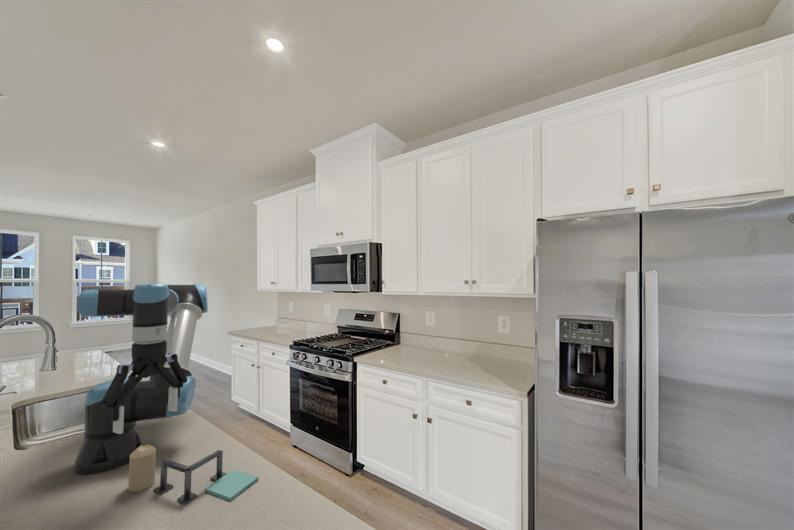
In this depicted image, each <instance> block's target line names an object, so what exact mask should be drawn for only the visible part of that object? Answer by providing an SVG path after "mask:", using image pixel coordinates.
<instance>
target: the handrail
mask: <svg viewBox="0 0 794 530" xmlns="http://www.w3.org/2000/svg"><path fill="white" fill-rule="evenodd" d="M223 454H224V451H223V450H221V449H217V450H216V451H214V452H212V453H210V454H209V455H207V456H205V457H204V458H201V459H200V460H198V461H196V462H195V463H193V464H191V465H188V466H187V465H185V464H181V463H180V462H179V463H178V462H175V461H174V460H170V459H166V458H165V459H164V460H162V461H161V462H160V479H159V480H160V483H159V486H157V487H155V488H153V490H152V492H153V493H156V494H157V495H160V496H162V495H163V494H165V493H167V492H168V491H170V490H172V489H174V485H173V484H171V483H168V468H170V469H172V470H175V471H178V472H181V473H184V483H183V484H184V485H183V486H184V487H183V488H184V489H183V494H182V495H181V496H179V497H177V499H176V500H177V501H176V502H178V503H181V504H183V505H187V504H189V503H190V502H191V501H193V500H195V499H196V498H197V497H198V494H197V493H195V492H192V472H193V471H195V470H196V469H199V468H201V467H202V466H203V465H204V466H205V464H207V463H209V462H211V461H212V460H214V459H216V474H214V475H213V476H211V477H210V478H209V479H210V481H213V482H215V481H217V480H219V479H220V478H222V477H223V476H225V475H226V474H227V473H226V472H223V460H224V459H223V456H224V455H223Z"/></svg>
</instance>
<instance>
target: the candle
mask: <svg viewBox="0 0 794 530" xmlns="http://www.w3.org/2000/svg"><path fill="white" fill-rule="evenodd" d="M156 459H157V448H156V447H154V445H151V444H145V445H143V444H142V445H141V446H139V447H138V448H137V449H136V450H135V451H134V452H132V453H131V455H130V460H129V463H128V464H129V465H128V485H127V486H128V491H129V492H130V493H131V492H132V493H138V492H142V491H145V490H147V489H149V488H150V487H152V486H153V485H154V484H155V481H156V466H157V465H156V463H157V462H156Z"/></svg>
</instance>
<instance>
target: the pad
mask: <svg viewBox="0 0 794 530" xmlns="http://www.w3.org/2000/svg"><path fill="white" fill-rule="evenodd" d="M257 481H259V476H257V475H253V474H250V473H247V472H244V471H240V470H238V469H232V470H231V471H229V472H228V473H226V475H225V476H223V477H222V478H220V479H219V480H217V481H213V483H211V484H209V485H207V486H206V487H205V488H204V493H207V494H209V495H212V496H215V497H218V498H221V499H223V500H225V501H229V502H231V501H232V500H234V499H235V498H237V497H238V496H239V495H240V494H242V493H244V492H245V491H246V490H247V489H248V488H250V487H251V486H252V485H254V484H255V483H256V482H257Z"/></svg>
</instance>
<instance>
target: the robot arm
mask: <svg viewBox="0 0 794 530" xmlns="http://www.w3.org/2000/svg"><path fill="white" fill-rule="evenodd" d="M77 297H78V298H77V300H76V310H77V312H78V314H79V315H80V316H82V317H93V318H96V317H115V316H116V317H117V316H118V317H119V316H120V317H121V316H132V331H131V333H132V334H131V335H132V336H131V341H132V344H131V359H132V361H131V363H130V364H118V365H117V367H116V371H115V373H116V374H115V376H114V377H113V378H112V379H109V380H106V381H104V382H100V383H98V384H96V385H94V386H92V387H91V388H90V389H89V390H88V391H87V392H86V396H85V397H86V399H85V403H84V408H85V411H84V413H85V414H84V434H83V435H84V437H83V440H82V441H83V442H82V444H81V446H80V448H79V451H78V453H77V456H76V458H75V460H74V472H75V473H77V474H81V475H91V474H92V475H93V474H99V473H105V472H108V471H112V470H115V469H118V468H120V467H123V466H125V465H127V464H129V460H130V455H131V453H132V452H134V451H135V450H136V449H137V448H138V447H139V446H141V445H143V443H142V440H141V438H140V435H139V433H138V430H137V427H136V426H137V422H140V421H142V422H143V421H150V420H157V419H164V418H172V417H176V416H177V417H178V416H182V415H184V414H186V413H187V412H188V411H189V410H190V407H191V406H192V403H193V401H194V397H195V391H196V381H197V380H196V377H195V376H193V375H192V374H193V373H192V371H191V370H189V363H190V357H191V353H192V349H193V348H192V347H193V343H194V337H195V331H196V327H197V322H198V320H200V319H201V318H202V316H203V314H206V313H208V311H209V307H208V306H209V305H208V292H207V287H206V286H205V285H204V284H196V283H195V284H166V283H138V284H136V285H135V286H134V288H133V289H129V288H128V289H113V288H112V289H111V288H110V289H105V288H104V289H99V288H95V289H85V290H83V291H81V292H80V293H79V295H78V296H77ZM168 317H169V318H170V321H169V324H168ZM129 373H130V374H129ZM128 374H129V375H128ZM147 378H149V379H148V380H143V379H147Z"/></svg>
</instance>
